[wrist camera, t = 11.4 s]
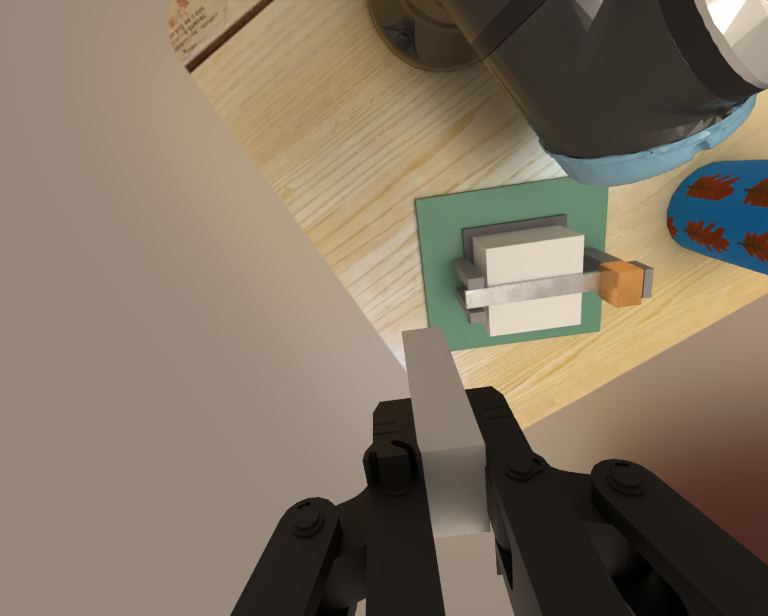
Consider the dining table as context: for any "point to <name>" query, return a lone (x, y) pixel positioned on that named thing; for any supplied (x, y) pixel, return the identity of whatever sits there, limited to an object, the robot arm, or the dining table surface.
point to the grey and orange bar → (568, 287)
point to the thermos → (724, 213)
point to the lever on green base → (514, 259)
